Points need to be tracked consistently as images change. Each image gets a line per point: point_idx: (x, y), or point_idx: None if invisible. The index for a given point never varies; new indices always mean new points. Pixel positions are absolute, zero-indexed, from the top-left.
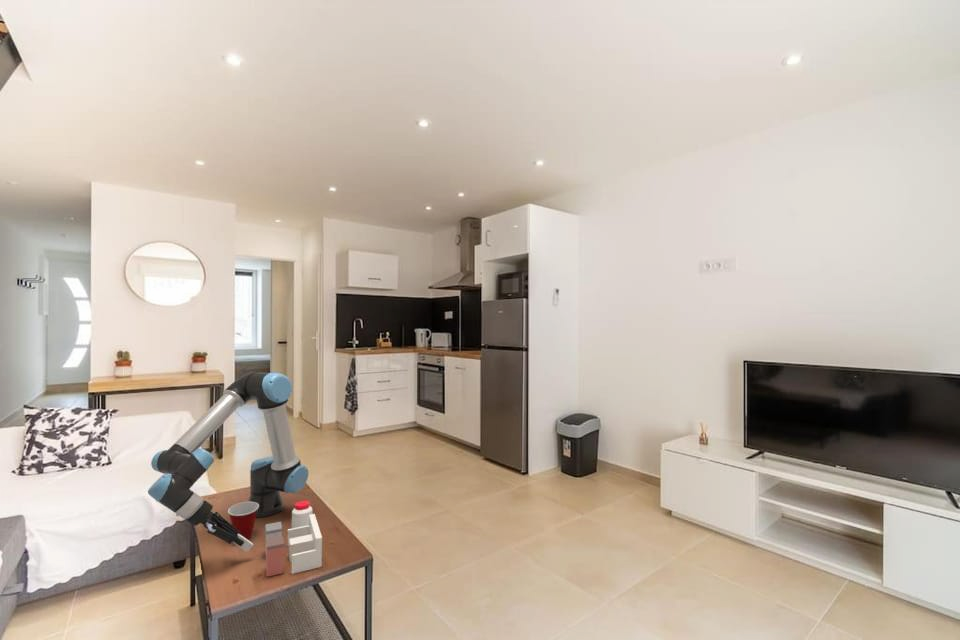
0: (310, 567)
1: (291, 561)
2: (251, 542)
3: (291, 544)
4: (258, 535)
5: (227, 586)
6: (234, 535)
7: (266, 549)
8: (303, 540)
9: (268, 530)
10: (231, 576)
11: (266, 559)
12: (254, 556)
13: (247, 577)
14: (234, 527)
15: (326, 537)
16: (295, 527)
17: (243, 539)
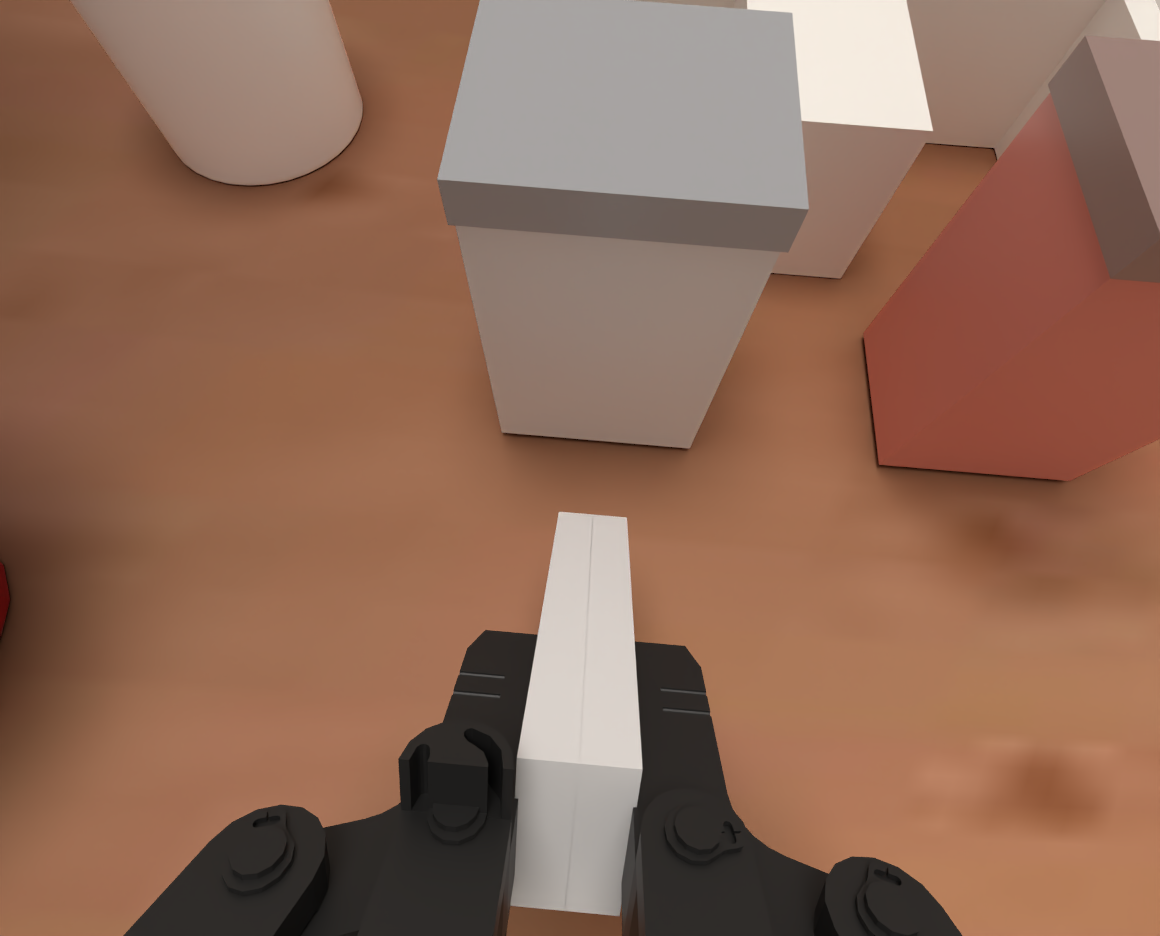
0: None
1: (839, 266)
2: (559, 527)
3: (922, 120)
4: (13, 457)
5: (1153, 902)
6: (850, 932)
7: (716, 389)
8: (870, 24)
9: (772, 170)
10: (918, 840)
11: (997, 417)
12: (540, 547)
13: (1003, 658)
14: (168, 903)
15: None
16: (285, 96)
17: (633, 647)
